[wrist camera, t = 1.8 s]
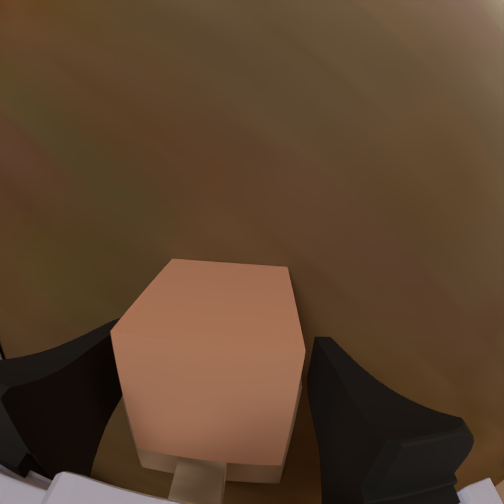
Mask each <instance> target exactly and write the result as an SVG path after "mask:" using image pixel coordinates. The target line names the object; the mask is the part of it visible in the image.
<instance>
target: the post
mask: <svg viewBox="0 0 504 504" xmlns="http://www.w3.org/2000/svg"><path fill="white" fill-rule="evenodd" d="M226 471H227V463H226V462H216V461H208V460H200V459H192V458H186V457H179V459H178V462H177V466H176V470H175V474H174V478H173V482H172V485H171V489H170V493H169V497H168V499H171V500H176V501H180V502H184V503H187V504H223V496H224V488H225V479H226Z"/></svg>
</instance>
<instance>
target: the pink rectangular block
mask: <svg viewBox="0 0 504 504" xmlns="http://www.w3.org/2000/svg"><path fill="white" fill-rule="evenodd" d="M110 332H111V338H112V344H113V350H114V355H115V360H116V365H117V370H118V375H119V380H120V384H121V389H122V393H123V397H124V401H125V405H126V409H127V413H128V417H129V421H130V424H131V428H132V431H133V435H134V438H135V442H136V445H137V448H139V449H143V450H148V451H152V452H157V453H163V454H168V455H174V456H179V457H186V458H192V459H200V460H208V461H216V462H226V463H238V464H253V465H282V461H283V457H284V453H285V449H286V444H287V440H288V436H289V431H290V427H291V422H292V418H293V413H294V408H295V404H296V399H297V394H298V389H299V384H300V379H301V373H302V368H303V363H304V357H305V351H306V350H305V345H304V341H303V336H302V331H301V326H300V322H299V317H298V312H297V308H296V303H295V298H294V294H293V289H292V285H291V280H290V276H289V271H288V267H281V266H266V265H252V264H237V263H223V262H210V261H196V260H183V259H172V260H171V261H170V262H169V263H168V264H167V265H166V266H165V268H164V269H163V270H162V271H161V272H160V273H159V274H158V275H157V277H156V278H155V279H154V280H153V281H152V282H151V284H150V285H149V286H148V287H147V288H146V289H145V290H144V292H143V293H142V294H141V295H140V296H139V297H138V299H137V300H136V301H135V302H134V303H133V305H132V306H131V307H130V308H129V309H128V310H127V312H126V313H125V314H124V315H123V316H122V318H121V319H120V320H119V321H118V322H117V324H116V325H115V326H114V327H113V328H112V330H111V331H110Z"/></svg>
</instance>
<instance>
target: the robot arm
mask: <svg viewBox="0 0 504 504" xmlns="http://www.w3.org/2000/svg"><path fill="white" fill-rule="evenodd" d="M119 320H120V318H119V319H116V320H113V321H111V322H109V323H107V324H105V325H103V326H101V327H99V328H97V329H95V330H93V331H91V332H89V333H87V334H85V335H83V336H81V337H79V338H76V339H74V340H72V341H70V342H67V343H65V344H63V345H60V346H58V347H55V348H52V349H49V350H46V351H43V352H40V353H36V354H32V355H27V356H23V357H18V358H12V359H2V357H1V354H0V504H187V503H184V502H180V501H176V500H171V499H165V498H161V497H156V496H152V495H147V494H143V493H139V492H135V491H131V490H128V489H124V488H121V487H117V486H114V485H111V484H107V483H104V482H101V481H98V480H95V479H92V478H89V477H90V473H91V469H92V465H93V462H94V458H95V455H96V452H97V449H98V446H99V443H100V440H101V438H102V435H103V432H104V430H105V427H106V425H107V423H108V421H109V419H110V417H111V415H112V413H113V411H114V410H115V408H116V406H117V404H118V402H119V401H120V399H121V397H122V395H123V393H122V389H121V384H120V380H119V375H118V370H117V365H116V360H115V355H114V350H113V344H112V338H111V332H110V331H111V330H112V328H113V327H114V326H115V325H116V324H117V322H118V321H119ZM307 385H308V398H309V403H310V408H311V413H312V417H313V422H314V427H315V431H316V436H317V441H318V446H319V454H320V467H321V486H322V504H503V503H502V501H501V499H500V498H499V495H498V493H497V491H496V489H495V487H494V485H493V483H492V482H491V480H490V478H486V479H483V480H481V481H478V482H476V483H473V484H470V485H468V486H465V487H463V488H462V489H460V490H458V491H457V492H456V490H455V488H454V486H453V485H455V484H456V483H457V479H456V476H455V474H454V473H455V471H456V470H457V469H458V468H459V466H460V465H461V464H462V462H463V461H464V460H465V458H466V457H467V456H468V454H469V452H470V451H471V449H472V446H473V443H474V438H473V435H472V433H471V432H470V430H469V428H468V427H467V425H466V424H465V422H464V420H463V419H462V418H460V417H456V416H452V415H448V414H445V413H441V412H438V411H435V410H432V409H430V408H427V407H424V406H422V405H420V404H417V403H415V402H413V401H411V400H409V399H407V398H405V397H403V396H401V395H399V394H398V393H396V392H394V391H393V390H391V389H390V388H388V387H387V386H385V385H384V384H382V383H381V382H379V381H378V380H376V379H375V378H374V377H373V376H371V375H370V374H369V373H368V372H366V371H365V370H364V369H363V368H362V367H361V366H359V365H358V364H357V363H356V362H355V361H354V360H353V359H352V358H351V357H350V356H349V355H348V354H347V353H346V352H345V351H344V350H343V349H342V348H341V347H340V346H339V345H338V344H337V343H336V342H335V341H334V340H333V339H332V338H331V337H315V339H314V345H313V350H312V355H311V361H310V366H309V371H308V376H307Z"/></svg>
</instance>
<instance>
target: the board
mask: <svg viewBox="0 0 504 504" xmlns="http://www.w3.org/2000/svg"><path fill="white" fill-rule="evenodd" d="M301 390H302V381H301V379H300V384H299V389H298V394H297V399H296V404H295V408H294V413H293V418H292V422H291V427H290V431H289V436H288V440H287V444H286V449H285V453H284V457H283V461H282V465H253V464H238V463H227V471H226V479H225V480H227V481H239V482H255V483H280V479H281V475H282V471H283V468H284V464H285V460H286V456H287V452H288V448H289V444H290V440H291V435H292V431H293V427H294V422H295V418H296V414H297V409H298V404H299V400H300V395H301ZM122 400H123V404H124V408H125V412H126V416H127V419H128V423H129V426H130V430H131V433H132V437H133V440H134V443H135V447H136V450H137V453H138V456H139V459H140V462H141V465H142V467H145V468H149V469H154V470H159V471H164V472H169V473H174V474H175V470H176V466H177V462H178V459H179V456H174V455H168V454H163V453H157V452H152V451H148V450H143V449H139V448H137V445H136V442H135V438H134V435H133V431H132V428H131V424H130V421H129V417H128V413H127V409H126V405H125V401H124V397H123V395H122Z"/></svg>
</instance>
